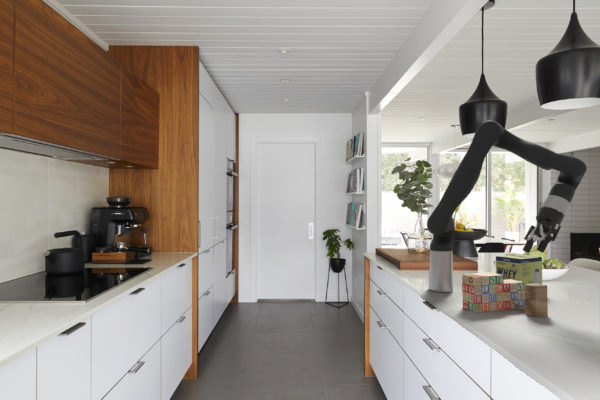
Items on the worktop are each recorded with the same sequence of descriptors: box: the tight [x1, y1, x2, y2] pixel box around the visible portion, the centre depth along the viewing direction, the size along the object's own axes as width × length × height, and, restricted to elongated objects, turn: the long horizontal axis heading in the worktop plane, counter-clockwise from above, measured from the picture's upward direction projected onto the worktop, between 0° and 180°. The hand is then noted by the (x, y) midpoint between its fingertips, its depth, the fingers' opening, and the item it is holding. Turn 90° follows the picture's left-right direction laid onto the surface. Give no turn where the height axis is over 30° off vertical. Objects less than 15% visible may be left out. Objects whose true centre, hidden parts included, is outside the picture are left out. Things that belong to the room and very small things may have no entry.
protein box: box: [495, 253, 543, 291], centre depth 159 cm, size 10×16×16 cm
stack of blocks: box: [461, 271, 525, 313], centre depth 137 cm, size 21×6×12 cm, turn 105°
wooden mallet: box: [515, 283, 549, 319], centre depth 130 cm, size 10×5×10 cm, turn 19°
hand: (532, 251), depth 132 cm, fingers open, 8 cm apart
